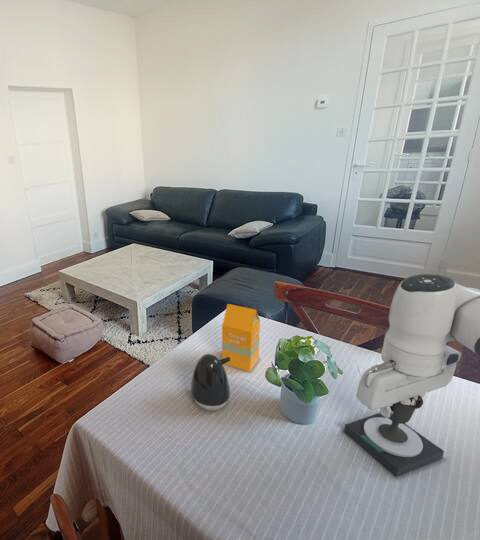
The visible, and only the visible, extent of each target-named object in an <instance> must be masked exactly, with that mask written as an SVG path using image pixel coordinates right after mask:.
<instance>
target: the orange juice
mask: <svg viewBox="0 0 480 540" xmlns="http://www.w3.org/2000/svg"><path fill="white" fill-rule="evenodd" d="M260 331H261V319H260V316H259V313H258V311H257V309H255V308H251V307H246V306H241V305H236V304H231V303H227V304H226V308H225V312H224V316H223V322H222V325H221V352H222V353H221V357H222V358H221V359H223V358H226V357H230V361H229V362H227V363H225V364H224V365H228V366H231V367H233V368H237V369H239V370H243V371H246V372H252V370H253V368H254V366H256V363H257V362H258V360H259V354H260Z"/></svg>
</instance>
